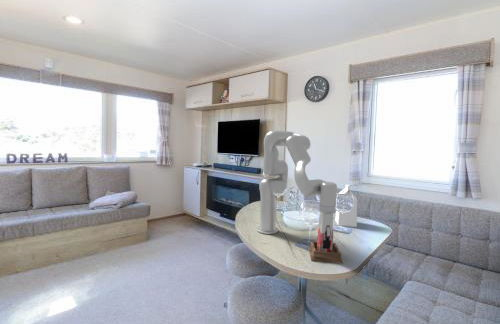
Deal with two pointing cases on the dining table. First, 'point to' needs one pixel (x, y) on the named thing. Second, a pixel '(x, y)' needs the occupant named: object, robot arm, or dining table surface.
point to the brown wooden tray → (325, 254)
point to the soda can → (320, 242)
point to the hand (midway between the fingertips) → (324, 244)
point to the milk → (348, 217)
